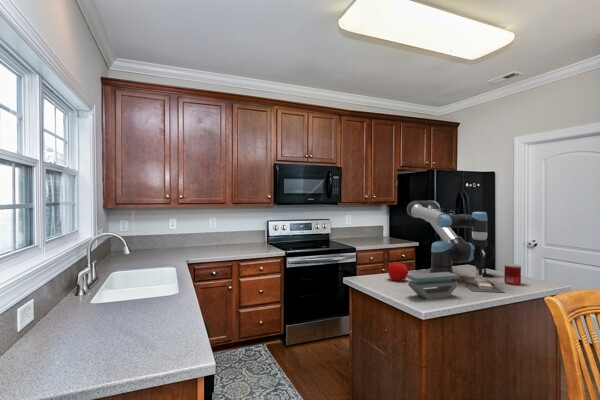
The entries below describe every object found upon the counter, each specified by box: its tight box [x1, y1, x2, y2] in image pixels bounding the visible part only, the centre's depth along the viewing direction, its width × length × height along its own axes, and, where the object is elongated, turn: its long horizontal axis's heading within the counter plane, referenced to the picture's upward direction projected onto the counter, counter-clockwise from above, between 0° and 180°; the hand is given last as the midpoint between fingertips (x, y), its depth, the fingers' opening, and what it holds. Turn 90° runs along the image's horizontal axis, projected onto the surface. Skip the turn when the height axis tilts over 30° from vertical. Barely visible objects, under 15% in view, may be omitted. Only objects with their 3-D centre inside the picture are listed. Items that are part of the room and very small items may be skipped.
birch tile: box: [473, 278, 493, 290], centre depth 178 cm, size 9×6×2 cm, turn 172°
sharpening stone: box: [406, 272, 460, 301], centre depth 163 cm, size 25×8×11 cm, turn 105°
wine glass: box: [482, 243, 496, 279], centre depth 207 cm, size 10×10×20 cm
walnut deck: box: [460, 277, 495, 286], centre depth 187 cm, size 14×10×2 cm
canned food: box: [504, 263, 522, 286], centre depth 188 cm, size 8×8×11 cm
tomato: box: [388, 261, 409, 282], centre depth 195 cm, size 12×12×11 cm
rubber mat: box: [464, 284, 506, 294], centre depth 176 cm, size 16×11×1 cm
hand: (479, 280), depth 184 cm, fingers closed
